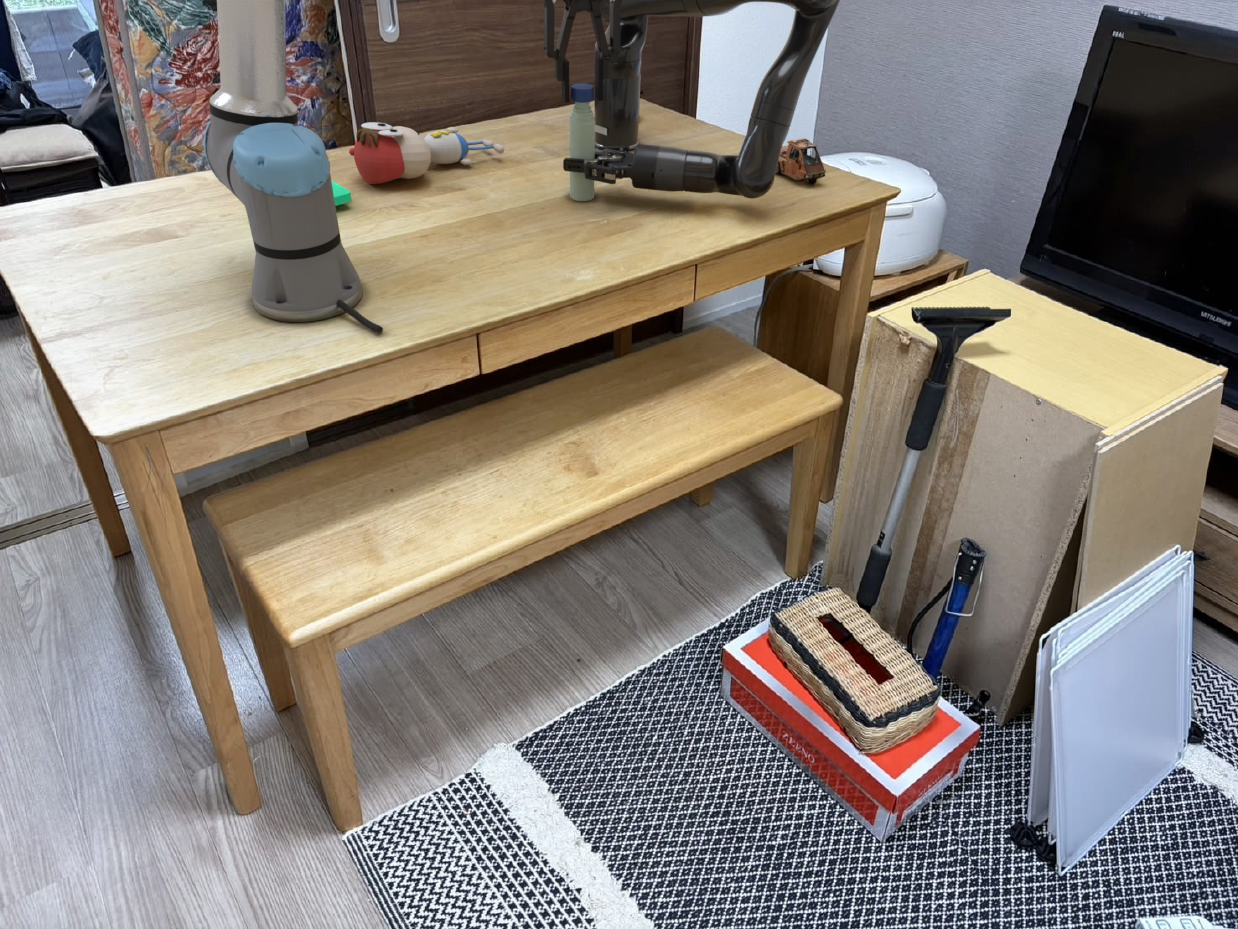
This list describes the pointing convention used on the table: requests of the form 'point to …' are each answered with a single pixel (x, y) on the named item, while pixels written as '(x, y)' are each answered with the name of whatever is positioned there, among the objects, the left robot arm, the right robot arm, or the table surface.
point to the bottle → (582, 149)
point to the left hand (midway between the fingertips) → (582, 99)
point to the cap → (582, 93)
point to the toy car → (800, 162)
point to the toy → (408, 151)
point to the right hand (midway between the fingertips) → (567, 159)
